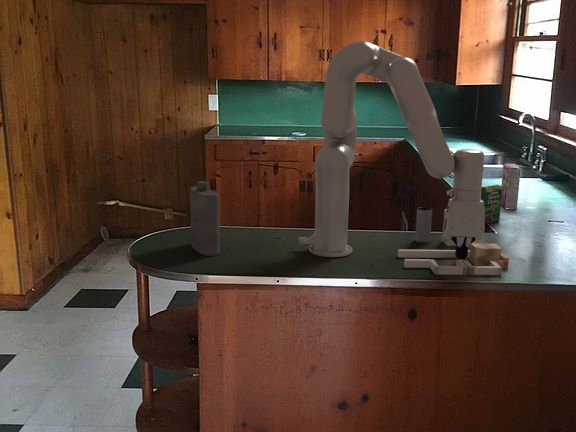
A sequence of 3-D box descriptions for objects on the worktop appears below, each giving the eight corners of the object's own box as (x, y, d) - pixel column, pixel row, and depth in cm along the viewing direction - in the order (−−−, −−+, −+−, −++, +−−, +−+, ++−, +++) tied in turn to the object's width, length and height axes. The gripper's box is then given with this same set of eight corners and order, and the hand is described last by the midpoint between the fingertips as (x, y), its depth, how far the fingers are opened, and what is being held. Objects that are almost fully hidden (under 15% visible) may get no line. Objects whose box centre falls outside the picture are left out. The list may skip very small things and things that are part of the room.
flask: (186, 243, 186) (185, 178, 181) (205, 241, 188) (204, 177, 184) (202, 257, 173) (201, 187, 168) (222, 255, 175) (221, 185, 171)
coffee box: (482, 224, 216) (486, 187, 213) (476, 222, 218) (480, 186, 215) (499, 222, 219) (503, 185, 216) (493, 220, 222) (497, 184, 219)
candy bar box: (498, 203, 251) (502, 163, 247) (511, 203, 250) (515, 163, 246) (503, 209, 240) (507, 167, 236) (517, 209, 239) (521, 168, 235)
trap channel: (409, 274, 161) (410, 263, 161) (397, 256, 177) (398, 246, 176) (515, 275, 162) (516, 264, 161) (494, 257, 178) (495, 247, 177)
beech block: (474, 265, 170) (476, 248, 169) (469, 260, 175) (470, 243, 174) (499, 266, 170) (501, 248, 169) (493, 260, 175) (495, 243, 174)
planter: (417, 238, 197) (420, 206, 194) (431, 240, 194) (434, 208, 192) (413, 241, 193) (415, 209, 190) (427, 243, 190) (429, 210, 188)
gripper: (442, 197, 164) (437, 263, 168) (498, 198, 164) (492, 263, 169) (435, 192, 171) (431, 255, 176) (489, 192, 172) (483, 255, 176)
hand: (460, 259), depth 172 cm, fingers closed
